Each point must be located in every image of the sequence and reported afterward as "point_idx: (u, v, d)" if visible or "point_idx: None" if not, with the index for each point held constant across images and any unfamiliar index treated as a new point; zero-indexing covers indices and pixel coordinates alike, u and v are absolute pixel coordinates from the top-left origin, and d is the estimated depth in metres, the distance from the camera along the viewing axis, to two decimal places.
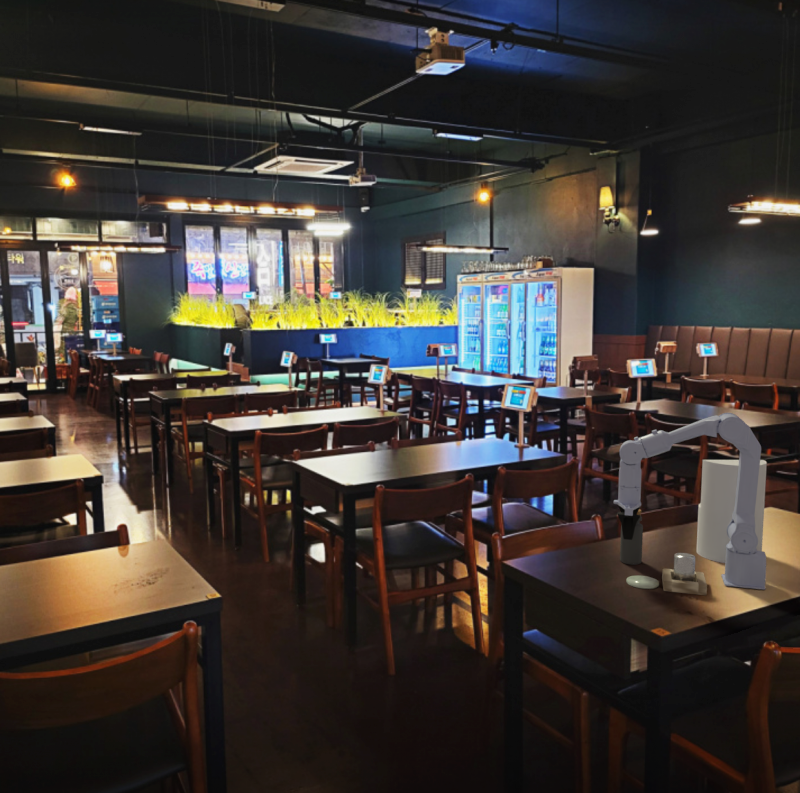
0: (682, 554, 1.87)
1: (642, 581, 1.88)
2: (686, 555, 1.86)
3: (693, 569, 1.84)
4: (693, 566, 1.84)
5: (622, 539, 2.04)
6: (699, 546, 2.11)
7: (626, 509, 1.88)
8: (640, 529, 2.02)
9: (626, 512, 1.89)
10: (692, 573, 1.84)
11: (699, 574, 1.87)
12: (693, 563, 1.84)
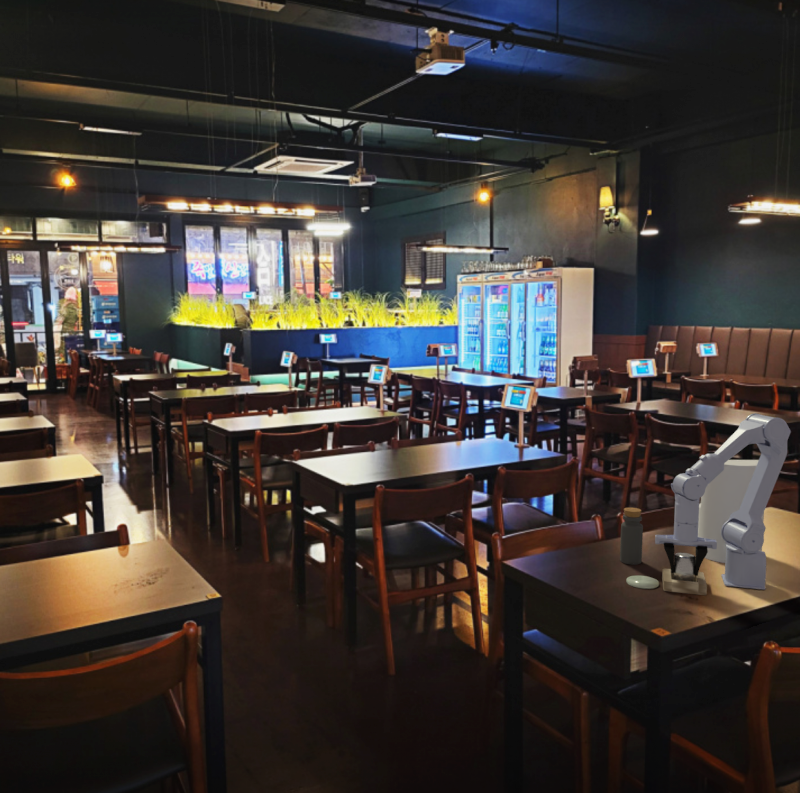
0: (682, 554, 1.87)
1: (642, 581, 1.88)
2: (686, 555, 1.86)
3: (693, 569, 1.84)
4: (693, 566, 1.84)
5: (622, 539, 2.04)
6: None
7: (655, 536, 1.88)
8: (640, 529, 2.02)
9: None
10: (692, 573, 1.84)
11: (699, 574, 1.87)
12: (693, 563, 1.84)
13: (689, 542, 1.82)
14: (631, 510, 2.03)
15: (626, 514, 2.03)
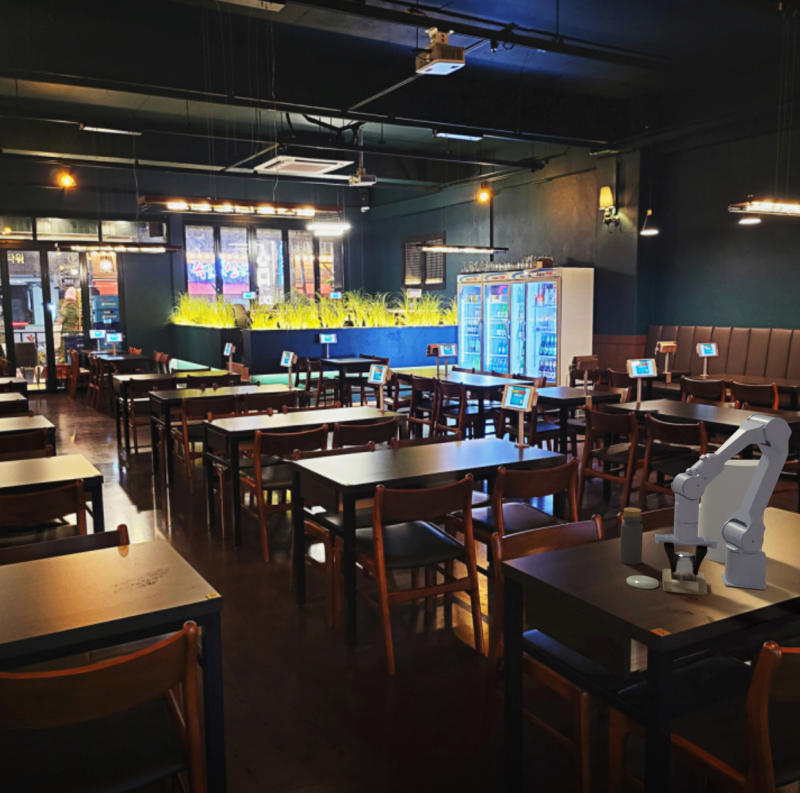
0: (682, 553, 1.87)
1: (642, 581, 1.88)
2: (686, 554, 1.86)
3: (693, 568, 1.84)
4: (693, 565, 1.84)
5: (622, 539, 2.04)
6: None
7: (655, 535, 1.88)
8: (640, 529, 2.02)
9: None
10: (692, 572, 1.84)
11: (699, 574, 1.87)
12: (693, 562, 1.84)
13: (689, 542, 1.82)
14: (631, 510, 2.03)
15: (626, 514, 2.03)
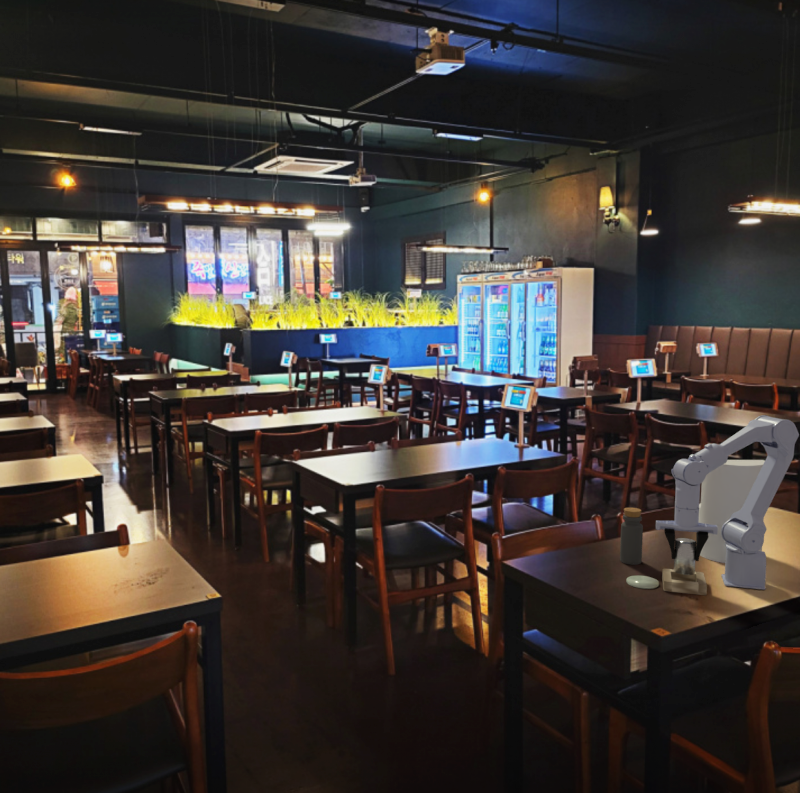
0: (683, 539, 1.86)
1: (642, 581, 1.88)
2: (687, 540, 1.85)
3: (694, 554, 1.84)
4: (694, 551, 1.83)
5: (622, 539, 2.04)
6: None
7: (656, 522, 1.87)
8: (640, 529, 2.02)
9: None
10: (693, 558, 1.83)
11: (699, 574, 1.87)
12: (694, 548, 1.83)
13: (690, 527, 1.82)
14: (631, 510, 2.03)
15: (626, 514, 2.03)
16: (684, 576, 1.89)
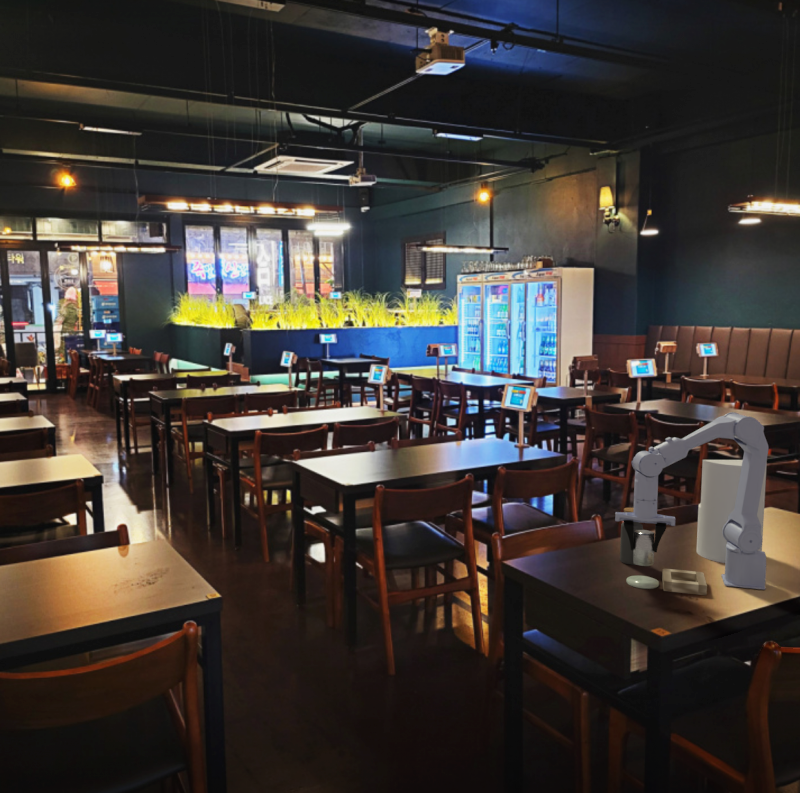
0: (642, 531, 1.88)
1: (642, 581, 1.88)
2: (645, 532, 1.87)
3: (652, 545, 1.85)
4: (652, 543, 1.85)
5: (622, 539, 2.04)
6: (699, 546, 2.11)
7: None
8: (640, 529, 2.02)
9: None
10: (651, 549, 1.85)
11: (699, 574, 1.87)
12: (652, 540, 1.85)
13: (648, 519, 1.84)
14: (631, 510, 2.03)
15: None
16: (684, 576, 1.89)
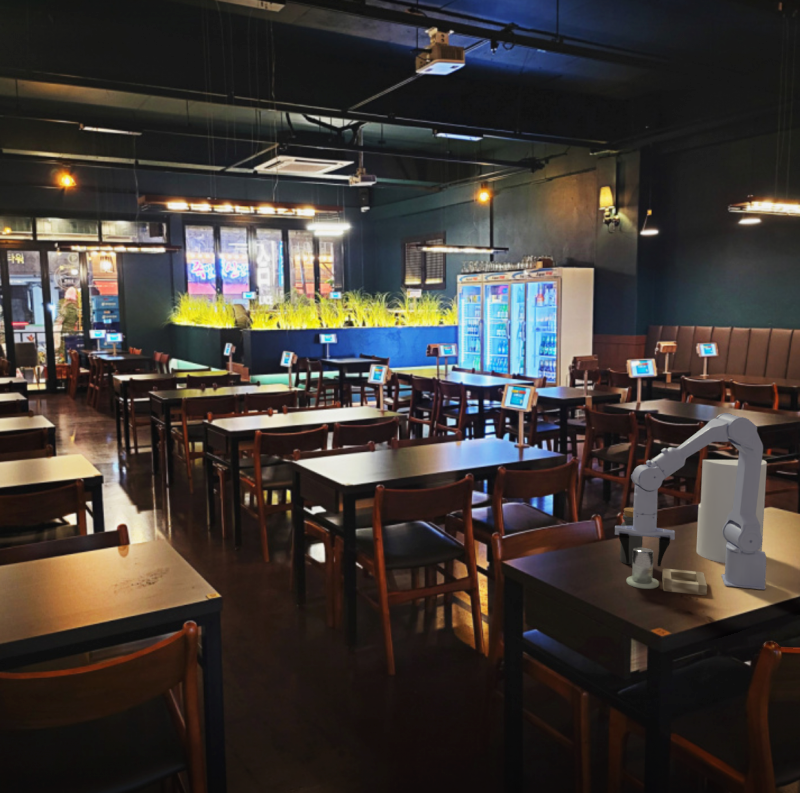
0: (641, 549, 1.89)
1: None
2: (644, 550, 1.88)
3: (651, 563, 1.86)
4: (651, 560, 1.86)
5: None
6: (699, 546, 2.11)
7: (615, 527, 1.90)
8: None
9: None
10: (650, 567, 1.86)
11: (699, 574, 1.87)
12: (651, 557, 1.86)
13: (647, 533, 1.84)
14: (631, 510, 2.03)
15: (626, 514, 2.03)
16: (684, 576, 1.89)
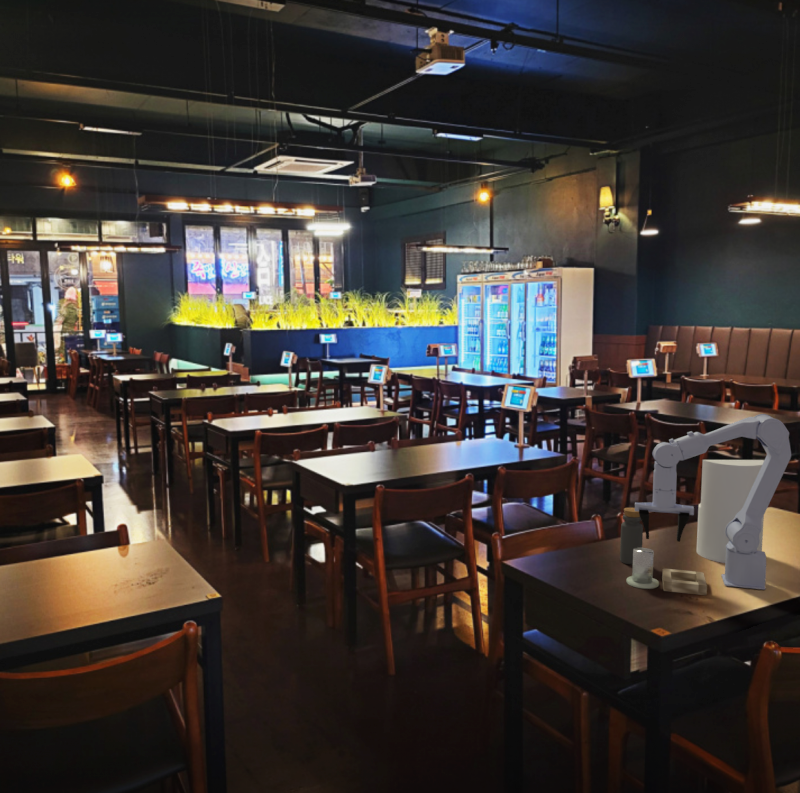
0: (641, 549, 1.89)
1: None
2: (645, 550, 1.88)
3: (651, 563, 1.86)
4: (651, 560, 1.86)
5: (622, 539, 2.04)
6: (699, 546, 2.11)
7: None
8: (640, 529, 2.02)
9: None
10: (650, 567, 1.86)
11: (699, 574, 1.87)
12: (651, 557, 1.86)
13: (667, 508, 1.88)
14: (631, 510, 2.03)
15: (626, 514, 2.03)
16: (684, 576, 1.89)
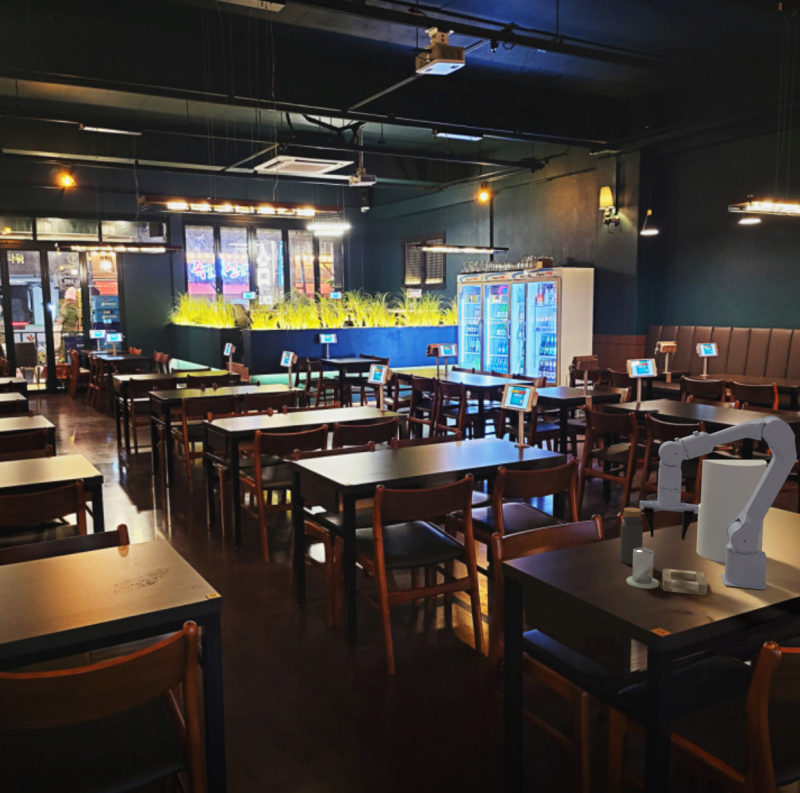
0: (641, 549, 1.89)
1: None
2: (645, 550, 1.88)
3: (651, 563, 1.86)
4: (651, 561, 1.86)
5: (622, 539, 2.04)
6: (699, 546, 2.11)
7: None
8: (640, 529, 2.02)
9: None
10: (650, 567, 1.86)
11: (699, 574, 1.87)
12: (651, 558, 1.86)
13: (672, 507, 1.89)
14: (631, 510, 2.03)
15: (626, 514, 2.03)
16: (684, 576, 1.89)
